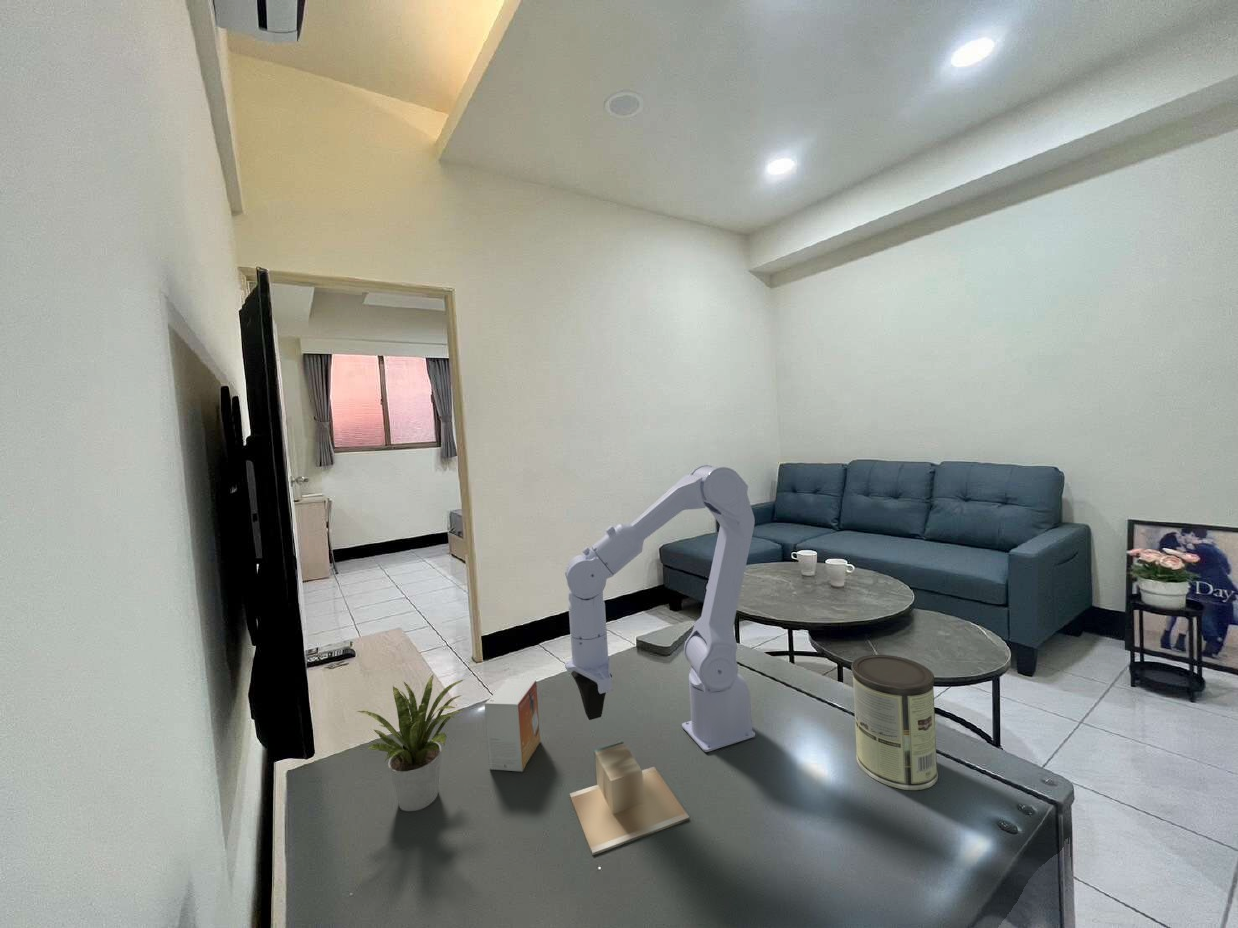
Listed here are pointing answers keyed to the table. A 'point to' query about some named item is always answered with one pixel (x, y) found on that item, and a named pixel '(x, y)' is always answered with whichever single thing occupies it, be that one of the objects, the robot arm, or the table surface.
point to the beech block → (619, 777)
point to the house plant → (414, 747)
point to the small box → (512, 725)
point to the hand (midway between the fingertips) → (594, 716)
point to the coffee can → (895, 721)
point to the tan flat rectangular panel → (627, 814)
